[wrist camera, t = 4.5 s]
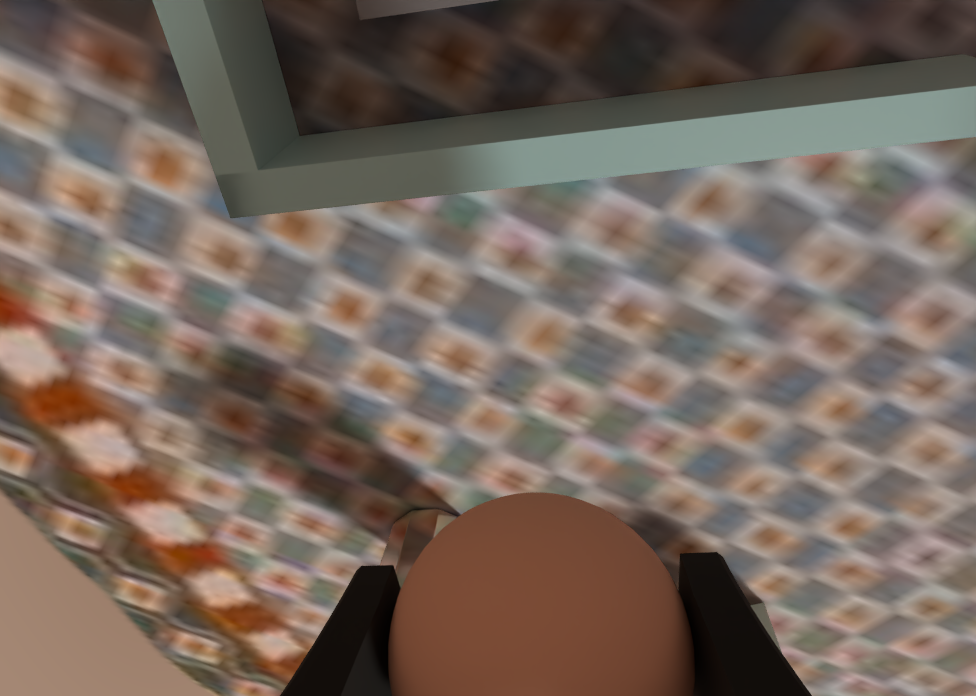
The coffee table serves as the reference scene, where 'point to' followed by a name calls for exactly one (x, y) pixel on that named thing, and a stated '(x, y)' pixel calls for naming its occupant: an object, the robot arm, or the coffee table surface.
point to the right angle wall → (765, 620)
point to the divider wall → (531, 124)
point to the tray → (405, 6)
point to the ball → (539, 608)
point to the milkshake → (412, 538)
